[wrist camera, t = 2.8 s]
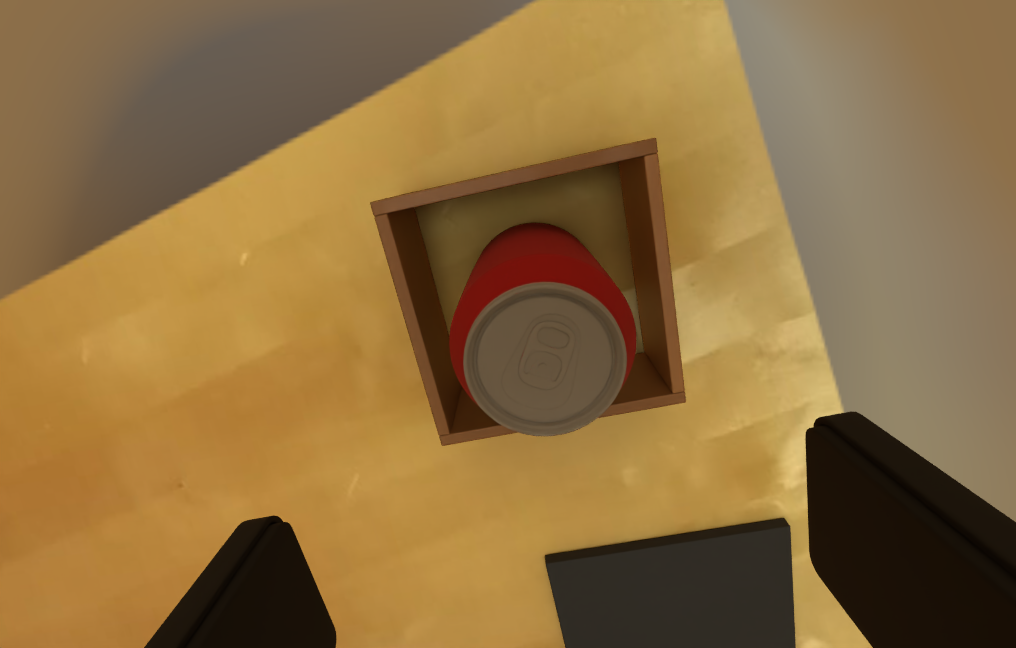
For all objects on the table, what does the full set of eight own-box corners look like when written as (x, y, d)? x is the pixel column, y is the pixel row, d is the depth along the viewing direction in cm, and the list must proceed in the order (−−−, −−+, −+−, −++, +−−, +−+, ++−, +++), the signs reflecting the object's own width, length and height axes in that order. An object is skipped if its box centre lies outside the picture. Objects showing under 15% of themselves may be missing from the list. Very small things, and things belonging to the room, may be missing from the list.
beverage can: (460, 319, 28) (420, 425, 16) (492, 204, 26) (471, 234, 14) (571, 351, 28) (606, 475, 17) (611, 240, 26) (682, 298, 15)
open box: (627, 143, 25) (656, 137, 19) (655, 359, 28) (686, 402, 23) (399, 195, 26) (369, 202, 20) (455, 396, 29) (441, 446, 24)
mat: (784, 517, 32) (790, 526, 31) (792, 688, 36) (798, 699, 36) (544, 555, 33) (545, 564, 32) (583, 715, 38) (584, 726, 37)
